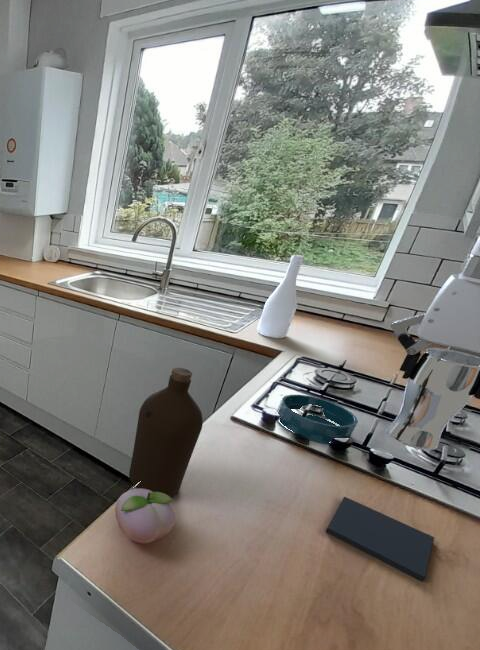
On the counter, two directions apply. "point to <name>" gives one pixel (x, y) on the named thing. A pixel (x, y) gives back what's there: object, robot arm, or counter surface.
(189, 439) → the olive oil
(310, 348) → the counter surface
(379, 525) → the mat
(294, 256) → the wine bottle
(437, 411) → the beer glass
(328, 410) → the pan
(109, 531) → the counter surface
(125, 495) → the decorative fruit
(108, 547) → the counter surface
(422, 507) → the counter surface
